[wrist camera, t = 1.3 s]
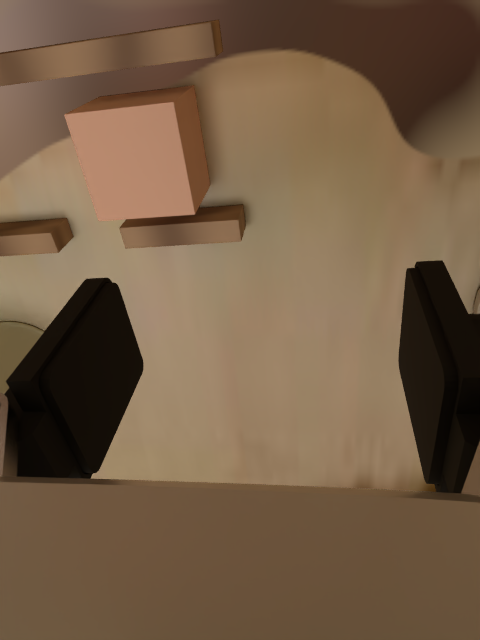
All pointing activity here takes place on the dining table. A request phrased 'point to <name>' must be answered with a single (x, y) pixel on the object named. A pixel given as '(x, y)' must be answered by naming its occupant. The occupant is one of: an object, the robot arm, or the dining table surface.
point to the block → (142, 153)
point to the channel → (110, 57)
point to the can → (14, 347)
